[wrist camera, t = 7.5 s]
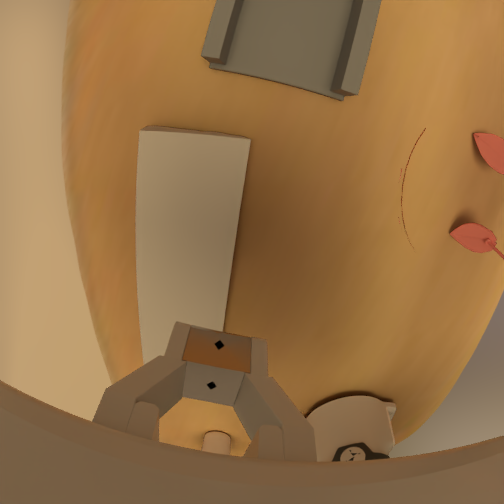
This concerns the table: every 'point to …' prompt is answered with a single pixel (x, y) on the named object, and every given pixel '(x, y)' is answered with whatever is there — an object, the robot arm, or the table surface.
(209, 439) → the drinking glass
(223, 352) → the robot arm
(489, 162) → the figurine
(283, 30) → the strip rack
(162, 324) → the decorative molding
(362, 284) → the table surface
